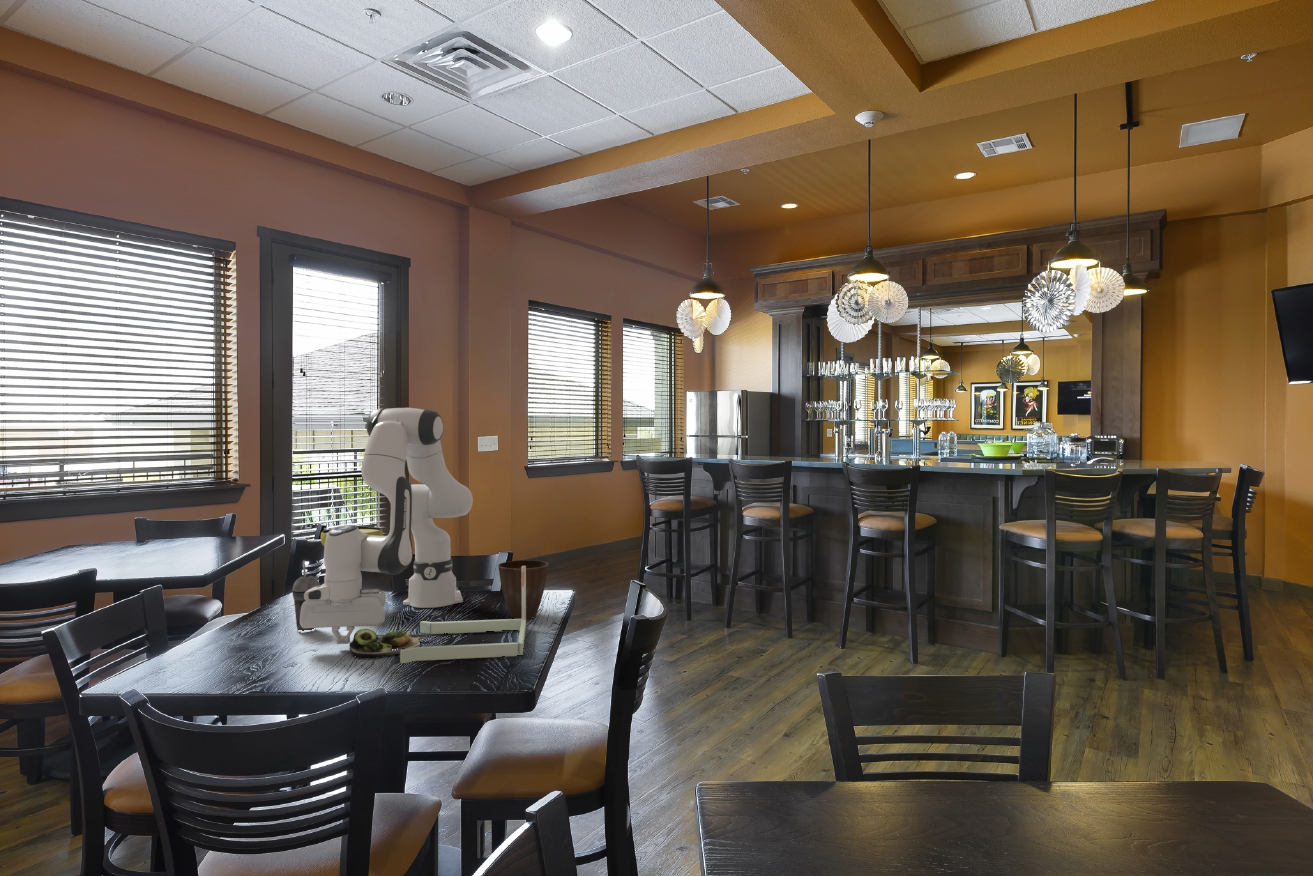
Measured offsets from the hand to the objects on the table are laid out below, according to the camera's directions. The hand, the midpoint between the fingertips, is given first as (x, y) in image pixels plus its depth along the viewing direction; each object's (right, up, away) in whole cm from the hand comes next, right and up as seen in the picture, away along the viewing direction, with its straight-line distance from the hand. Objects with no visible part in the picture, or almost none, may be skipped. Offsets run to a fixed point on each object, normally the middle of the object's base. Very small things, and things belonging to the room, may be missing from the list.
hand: (343, 643), depth 181 cm
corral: (+31, -1, +4) cm, 31 cm away
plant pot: (+40, -2, +32) cm, 52 cm away
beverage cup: (-18, -2, +17) cm, 25 cm away
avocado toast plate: (+10, -2, +1) cm, 10 cm away
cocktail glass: (-16, -2, +42) cm, 45 cm away
